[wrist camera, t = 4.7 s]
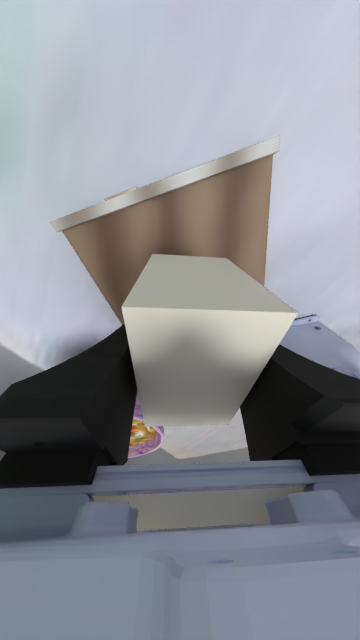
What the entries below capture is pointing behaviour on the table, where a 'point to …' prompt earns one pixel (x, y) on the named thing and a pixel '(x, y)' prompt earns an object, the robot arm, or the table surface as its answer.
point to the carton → (199, 338)
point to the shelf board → (178, 221)
